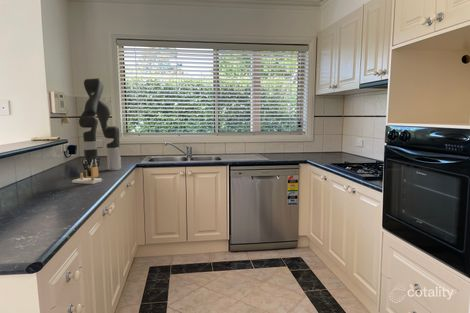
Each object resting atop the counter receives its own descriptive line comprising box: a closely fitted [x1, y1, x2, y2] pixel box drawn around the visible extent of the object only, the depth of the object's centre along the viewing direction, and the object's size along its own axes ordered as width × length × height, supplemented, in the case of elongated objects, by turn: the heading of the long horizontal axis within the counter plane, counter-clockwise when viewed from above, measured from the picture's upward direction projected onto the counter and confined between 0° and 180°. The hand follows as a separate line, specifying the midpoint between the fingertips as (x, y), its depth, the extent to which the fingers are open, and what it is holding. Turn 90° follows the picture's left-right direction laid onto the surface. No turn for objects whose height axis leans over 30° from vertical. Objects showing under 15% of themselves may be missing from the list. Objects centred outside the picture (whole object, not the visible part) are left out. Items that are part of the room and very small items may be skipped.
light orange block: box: [85, 166, 99, 178], centre depth 201 cm, size 5×5×6 cm
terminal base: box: [71, 172, 103, 185], centre depth 203 cm, size 9×15×6 cm, turn 76°
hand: (92, 175), depth 202 cm, fingers closed on light orange block, 5 cm apart
